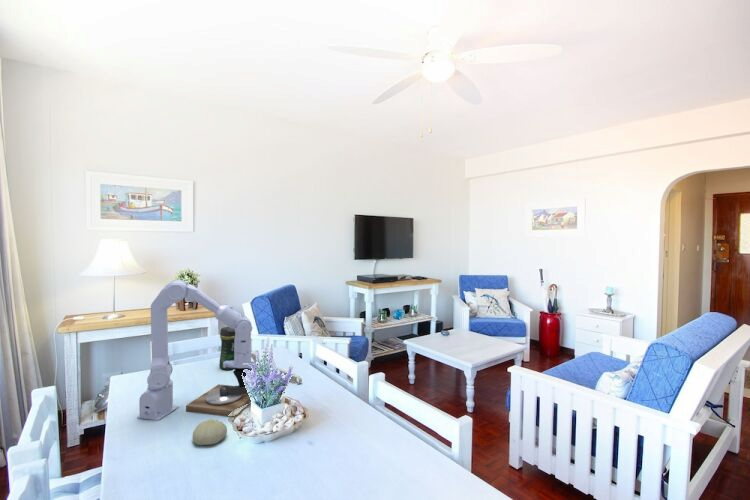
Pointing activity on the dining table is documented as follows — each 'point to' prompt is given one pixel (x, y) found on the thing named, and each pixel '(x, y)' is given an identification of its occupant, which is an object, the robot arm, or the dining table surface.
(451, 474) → the dining table surface
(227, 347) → the coffee jar
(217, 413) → the dial base
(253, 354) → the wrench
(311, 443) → the dining table surface
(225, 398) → the dial
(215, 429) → the sea urchin shell
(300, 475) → the dining table surface
